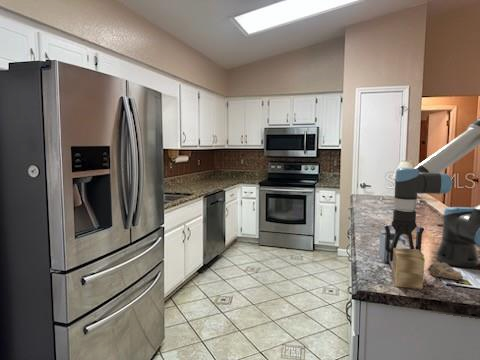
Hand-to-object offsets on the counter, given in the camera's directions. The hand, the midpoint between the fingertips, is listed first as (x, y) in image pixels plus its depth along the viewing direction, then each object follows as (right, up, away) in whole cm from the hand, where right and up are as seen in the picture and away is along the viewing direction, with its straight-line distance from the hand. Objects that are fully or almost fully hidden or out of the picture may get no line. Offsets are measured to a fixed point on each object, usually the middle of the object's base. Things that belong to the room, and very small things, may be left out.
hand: (401, 269), depth 126 cm
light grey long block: (+1, -1, +4) cm, 4 cm away
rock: (+16, -2, -1) cm, 16 cm away
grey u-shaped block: (+4, 0, +17) cm, 17 cm away
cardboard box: (-2, -3, -7) cm, 8 cm away
